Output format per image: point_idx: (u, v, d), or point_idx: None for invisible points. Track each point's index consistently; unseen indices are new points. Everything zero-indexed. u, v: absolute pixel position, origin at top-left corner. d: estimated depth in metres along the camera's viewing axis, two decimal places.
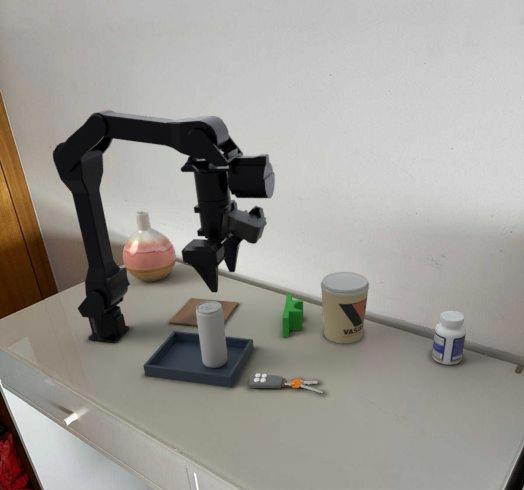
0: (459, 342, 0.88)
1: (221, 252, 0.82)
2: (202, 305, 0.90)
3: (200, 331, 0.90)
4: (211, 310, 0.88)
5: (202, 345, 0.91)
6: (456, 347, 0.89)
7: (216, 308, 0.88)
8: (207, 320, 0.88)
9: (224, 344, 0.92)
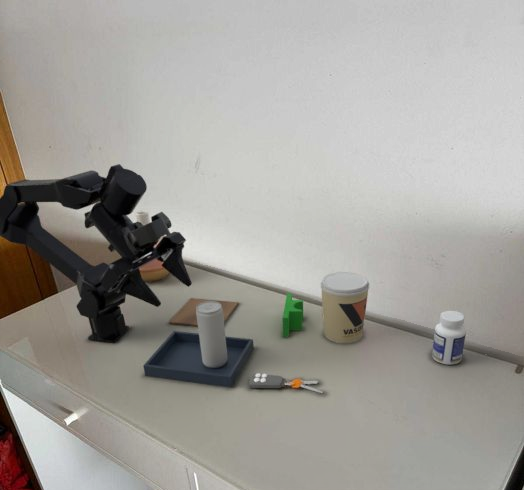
0: (459, 342, 0.88)
1: (126, 264, 0.84)
2: (203, 305, 0.90)
3: (200, 331, 0.90)
4: (211, 310, 0.88)
5: (202, 345, 0.91)
6: (456, 347, 0.89)
7: (216, 308, 0.88)
8: (207, 320, 0.88)
9: (224, 344, 0.92)
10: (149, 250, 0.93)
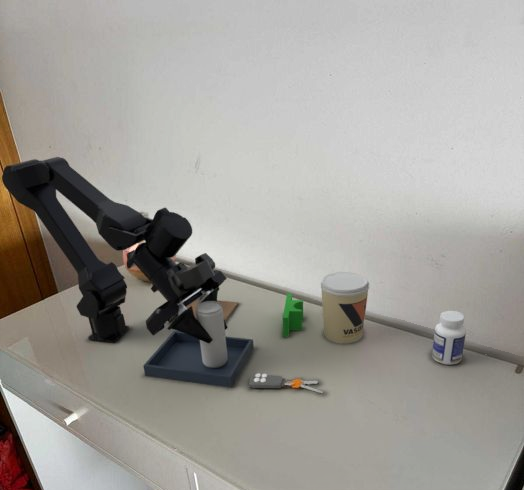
0: (459, 342, 0.88)
1: (172, 308, 0.84)
2: (203, 305, 0.90)
3: None
4: (211, 310, 0.88)
5: (202, 345, 0.91)
6: (456, 347, 0.89)
7: (216, 308, 0.88)
8: (207, 320, 0.88)
9: (224, 344, 0.92)
10: (191, 290, 0.92)
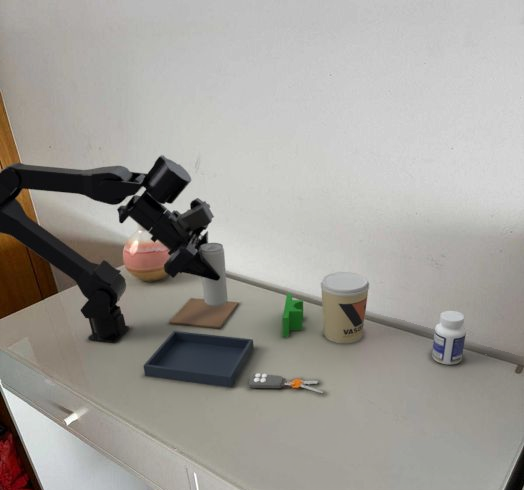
0: (459, 342, 0.88)
1: (190, 247, 0.89)
2: (204, 247, 0.96)
3: None
4: (216, 248, 0.95)
5: (208, 285, 0.98)
6: (456, 347, 0.89)
7: (219, 246, 0.96)
8: (215, 258, 0.95)
9: None
10: None
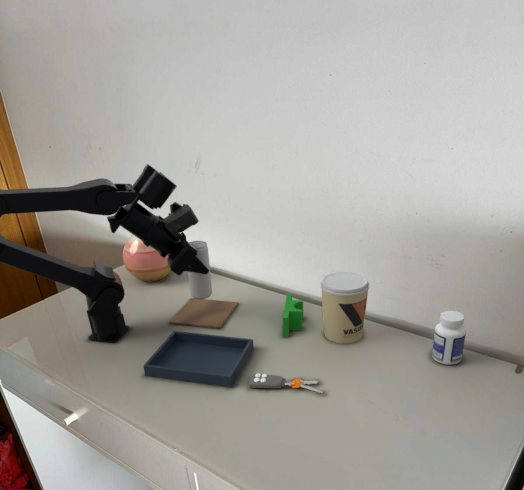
0: (459, 342, 0.88)
1: (191, 244, 0.98)
2: None
3: None
4: (202, 245, 1.05)
5: (198, 279, 1.07)
6: (456, 347, 0.89)
7: (203, 243, 1.06)
8: (203, 254, 1.04)
9: None
10: None
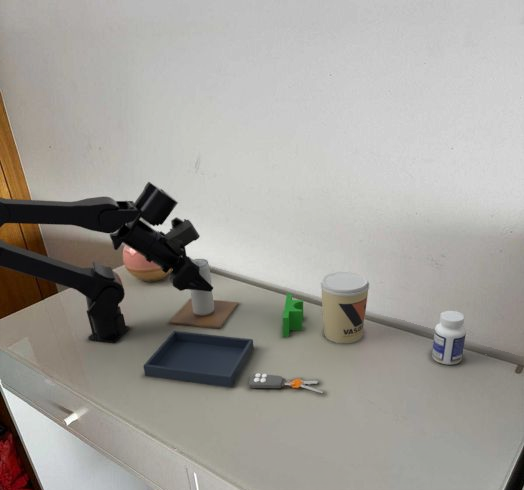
0: (459, 342, 0.88)
1: (192, 260, 0.99)
2: None
3: None
4: (203, 263, 1.07)
5: (200, 297, 1.09)
6: (456, 347, 0.89)
7: (204, 261, 1.08)
8: (205, 272, 1.06)
9: None
10: None
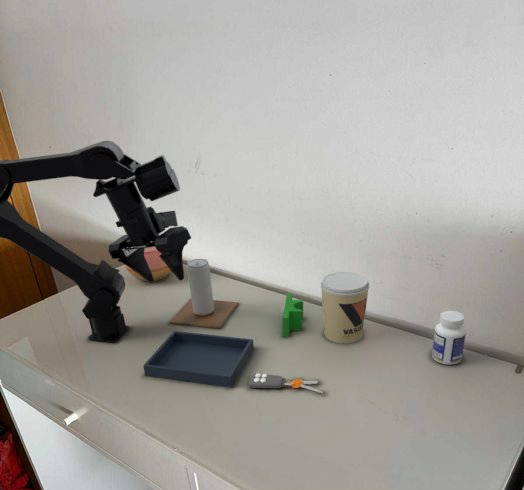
0: (459, 342, 0.88)
1: None
2: (192, 264, 1.07)
3: (198, 284, 1.07)
4: (204, 263, 1.07)
5: (200, 297, 1.09)
6: (456, 347, 0.89)
7: (204, 261, 1.08)
8: (205, 272, 1.06)
9: None
10: None
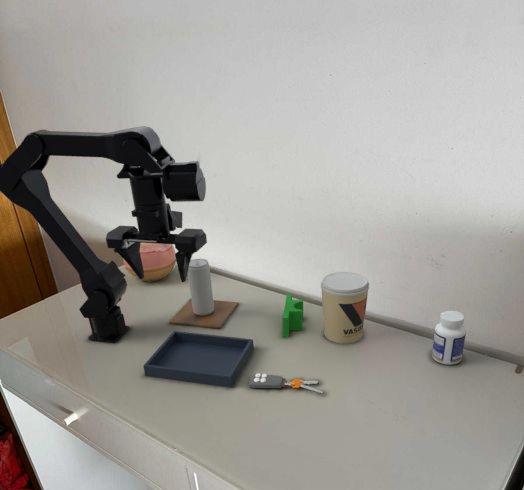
0: (459, 342, 0.88)
1: None
2: (192, 264, 1.07)
3: (198, 284, 1.07)
4: (204, 263, 1.07)
5: (200, 297, 1.09)
6: (456, 347, 0.89)
7: (204, 261, 1.08)
8: (205, 272, 1.06)
9: None
10: None
